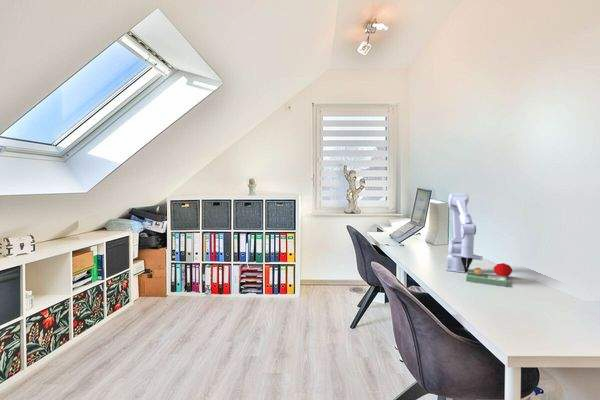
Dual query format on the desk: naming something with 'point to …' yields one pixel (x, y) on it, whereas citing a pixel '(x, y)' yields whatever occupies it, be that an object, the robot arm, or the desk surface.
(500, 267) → the gemstone
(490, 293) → the desk surface
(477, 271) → the ball
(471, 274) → the green flat board
